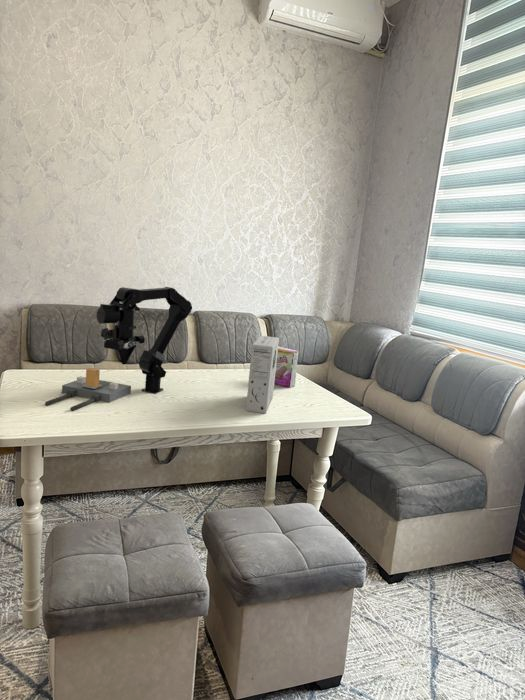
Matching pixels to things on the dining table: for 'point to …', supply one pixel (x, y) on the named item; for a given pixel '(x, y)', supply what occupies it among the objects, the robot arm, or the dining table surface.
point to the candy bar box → (286, 367)
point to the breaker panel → (97, 390)
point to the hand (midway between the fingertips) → (123, 364)
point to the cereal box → (262, 374)
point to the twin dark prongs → (68, 397)
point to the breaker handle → (92, 378)
